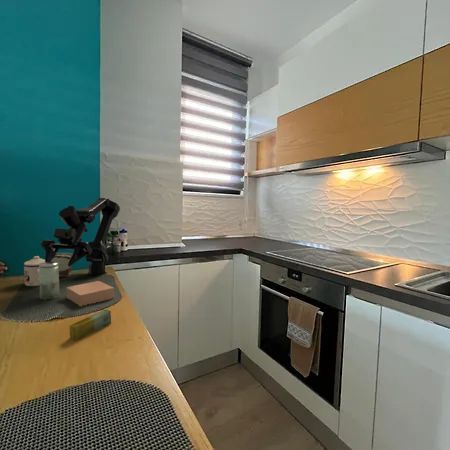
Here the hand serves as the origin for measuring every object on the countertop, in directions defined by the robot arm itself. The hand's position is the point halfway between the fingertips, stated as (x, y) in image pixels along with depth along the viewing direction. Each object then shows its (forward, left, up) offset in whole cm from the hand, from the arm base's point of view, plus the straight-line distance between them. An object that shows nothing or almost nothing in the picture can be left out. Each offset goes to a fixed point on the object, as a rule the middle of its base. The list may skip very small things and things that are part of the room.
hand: (57, 265), depth 105 cm
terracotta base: (-7, +14, -11) cm, 19 cm away
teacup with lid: (+2, -17, -11) cm, 21 cm away
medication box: (+4, +39, -11) cm, 41 cm away
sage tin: (+3, +3, -11) cm, 12 cm away
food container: (-12, -26, -11) cm, 31 cm away
